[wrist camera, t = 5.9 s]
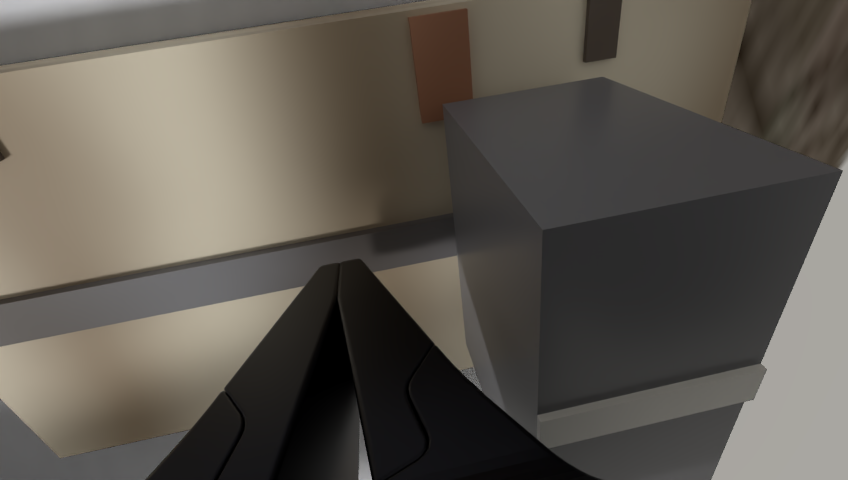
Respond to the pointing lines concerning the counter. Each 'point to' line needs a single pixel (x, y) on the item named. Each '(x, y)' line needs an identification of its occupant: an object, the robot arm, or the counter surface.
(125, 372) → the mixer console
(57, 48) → the counter surface
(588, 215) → the fader knob
